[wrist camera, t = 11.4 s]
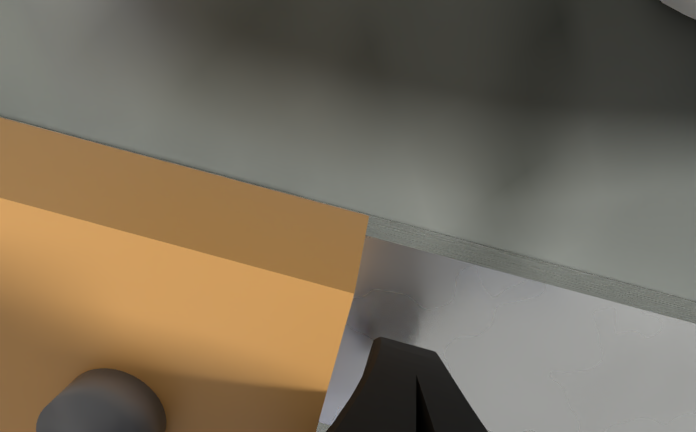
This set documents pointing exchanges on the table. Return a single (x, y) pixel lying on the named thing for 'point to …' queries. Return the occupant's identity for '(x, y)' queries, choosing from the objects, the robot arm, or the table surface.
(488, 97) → the table surface
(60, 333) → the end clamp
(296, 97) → the table surface
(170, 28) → the table surface
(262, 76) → the table surface
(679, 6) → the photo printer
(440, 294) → the mounting rail
